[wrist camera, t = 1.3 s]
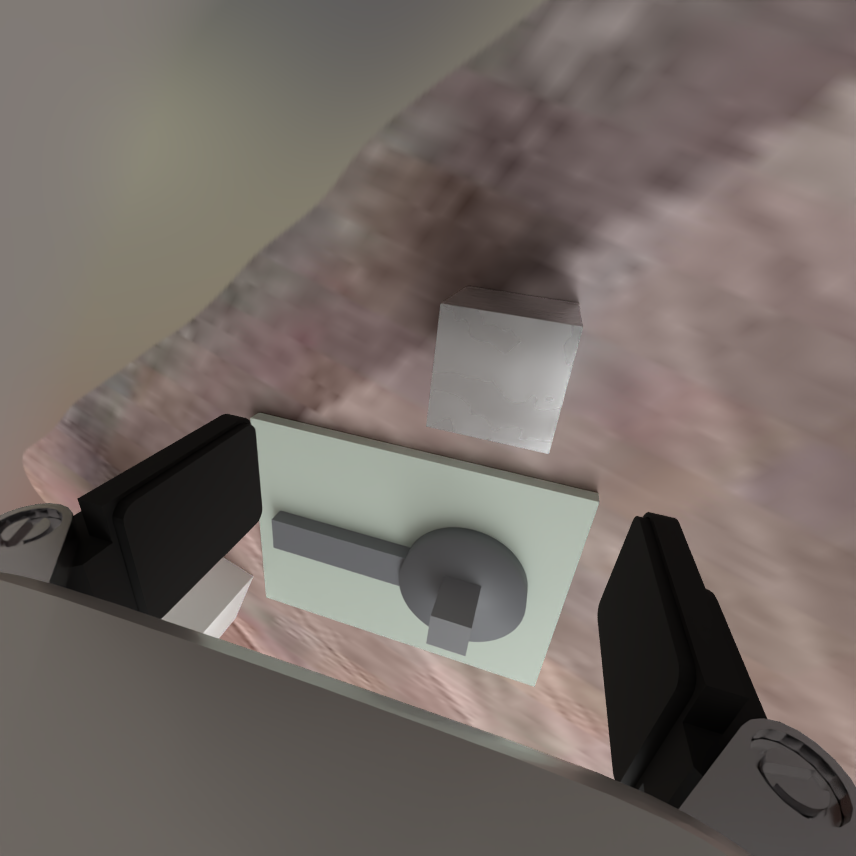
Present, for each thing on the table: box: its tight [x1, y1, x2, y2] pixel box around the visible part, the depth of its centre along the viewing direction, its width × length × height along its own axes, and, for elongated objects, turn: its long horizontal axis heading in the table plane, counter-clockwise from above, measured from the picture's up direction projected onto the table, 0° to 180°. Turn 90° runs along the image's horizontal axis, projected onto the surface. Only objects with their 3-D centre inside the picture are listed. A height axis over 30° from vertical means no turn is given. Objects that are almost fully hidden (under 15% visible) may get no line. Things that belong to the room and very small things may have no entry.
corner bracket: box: [162, 557, 253, 639], centre depth 36 cm, size 11×11×12 cm
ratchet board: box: [251, 413, 599, 687], centre depth 31 cm, size 24×18×6 cm
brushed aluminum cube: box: [426, 286, 583, 454], centre depth 22 cm, size 6×6×6 cm
